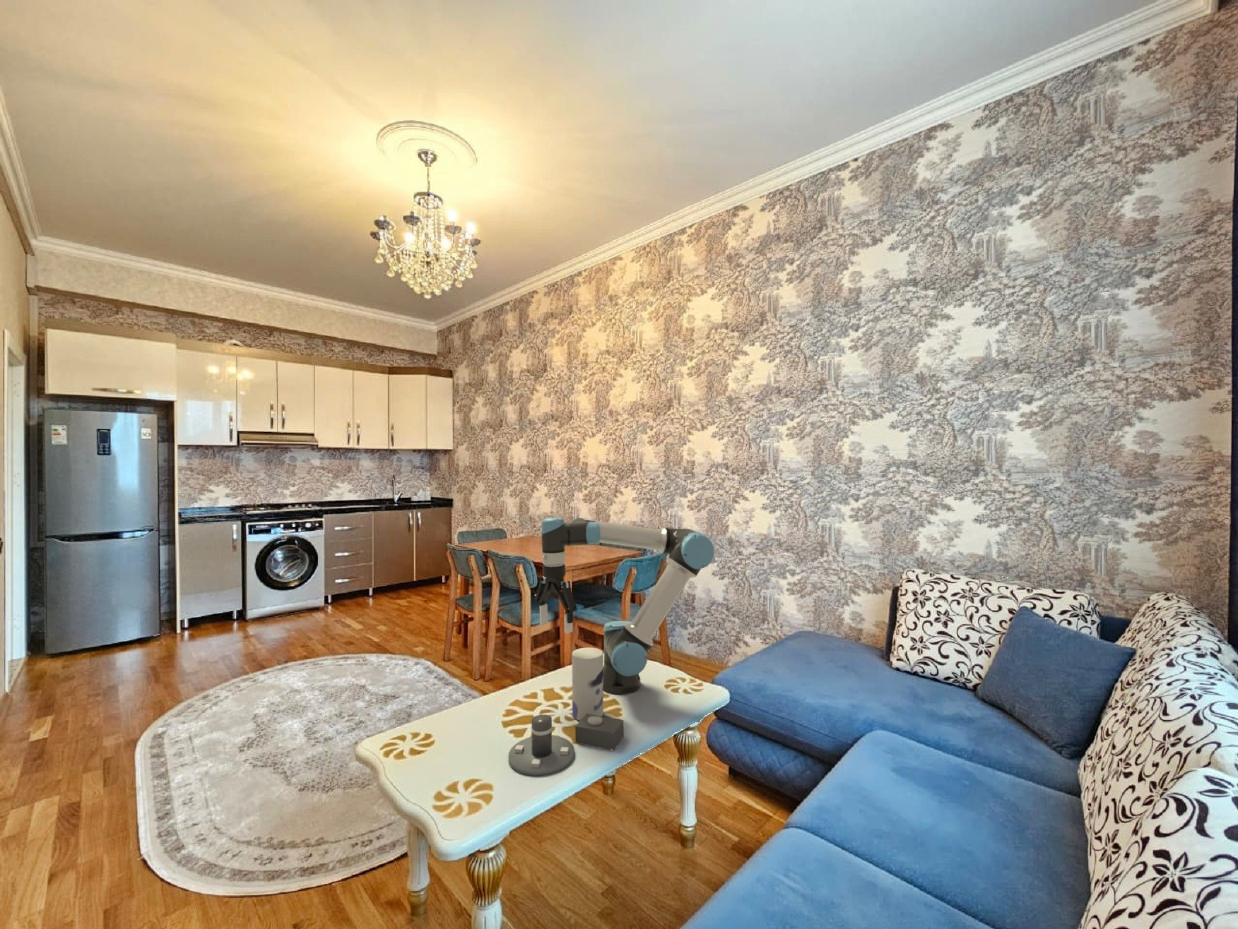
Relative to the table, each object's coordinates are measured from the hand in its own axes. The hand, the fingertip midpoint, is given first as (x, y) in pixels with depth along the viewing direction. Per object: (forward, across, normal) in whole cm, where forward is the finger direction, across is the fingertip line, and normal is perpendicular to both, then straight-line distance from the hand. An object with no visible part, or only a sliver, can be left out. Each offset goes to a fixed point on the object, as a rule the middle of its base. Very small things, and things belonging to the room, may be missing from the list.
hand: (556, 628), depth 169 cm
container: (+27, +10, +4) cm, 29 cm away
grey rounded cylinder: (+25, +20, -21) cm, 38 cm away
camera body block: (+27, +24, -3) cm, 36 cm away
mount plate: (+26, +20, -21) cm, 39 cm away
